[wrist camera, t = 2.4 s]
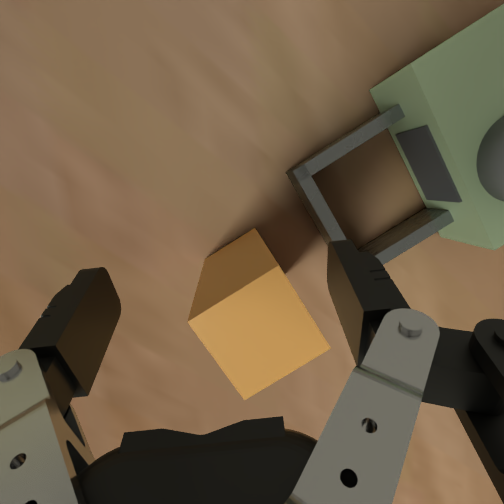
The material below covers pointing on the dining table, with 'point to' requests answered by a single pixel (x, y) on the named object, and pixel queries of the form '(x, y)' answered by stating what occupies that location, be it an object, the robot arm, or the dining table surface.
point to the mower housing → (456, 129)
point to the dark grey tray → (322, 216)
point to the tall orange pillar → (252, 316)
